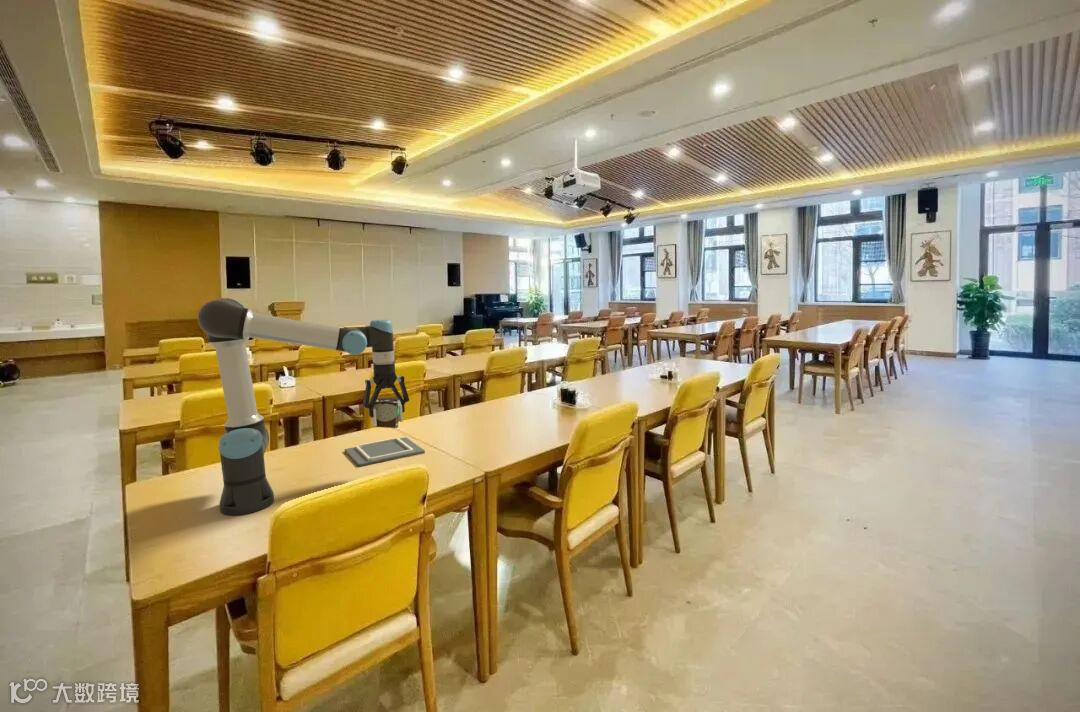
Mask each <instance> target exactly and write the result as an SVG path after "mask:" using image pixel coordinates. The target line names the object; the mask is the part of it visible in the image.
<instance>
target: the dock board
mask: <svg viewBox="0 0 1080 712" xmlns="http://www.w3.org/2000/svg"><path fill="white" fill-rule="evenodd" d="M425 451H426V450H424V449H423V448H422V447H421V446H419V445H417V444H416V443H414V442H413V441H412V440H410V439H409V438H407V437H406V436H405V437H401V438H399V437H392V438H387V439H383V440H381V439H380V440H376V441H373V442H372V441H371V442H367V443H362V444H357V445H355V446H353V447H349V448H344V453H346V454H347V455H348V457H349V458H350V459H351V460H352V461H353V462H354V463H355V464H356V465H357V466H358V468H360V467H365V466H371V465H374V464H379V463H384V461H385V462H388V461H394V460H398V458H399V459H403V457H404V458H407V457H412V456H417V455H422V454H425Z"/></svg>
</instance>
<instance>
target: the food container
mask: <svg viewBox="0 0 1080 712" xmlns="http://www.w3.org/2000/svg"><path fill="white" fill-rule="evenodd" d="M369 403H370V400H369ZM399 406H401V402H400V400H399V399H398V398H397V397H389V396H387V397H378V398H377V400H376V403H375V405H374V408H375V409H376V421H377V426H373V425H372V427H373V428H384V429H385V428H387V429H397V428H399V423H400V421H399Z"/></svg>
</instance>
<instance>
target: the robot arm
mask: <svg viewBox="0 0 1080 712" xmlns="http://www.w3.org/2000/svg"><path fill="white" fill-rule="evenodd" d="M197 313H198V314H197V323H198V326H199V327H200V329H201V330H202V331H203V332H204V333H205V334H206V336H207V341H208V344H209V345H212V346H213V347H214V350H215V353H216V359H217V360H216V361H217V364H218V370H219V376H220V381H221V386H222V391H223V397H224V402H225V406H226V410H227V411H226V412H227V416H228V417H227V420H226V422H225V423H224V424H223V425H224V430H225V433H224V434H223V435H221V436H220V438H219V440H218V442H219V443H218V444H219V445H218V451H219V455H220V464H221V465H220V466H221V472H222V473H221V474H222V480H223V488H222V492H221V496H220V500H219V511H220V513H221V514H223V515H225V516H240V515H247V514H252V513H255V512H259V511H261V510H263V509H266V508H267V507H269V506H271V505H272V504H273V503H274V502H275V500H274V499H275V492H274V491H273V489H272V486H271V484H270V482H269V481H268V479H267V474H266V464H265V454H266V451H267V448H268V446H269V443H270V434H269V430H268V429H267V427H266V423H265V417H264V416H263V415H261V414H259V412H258V407H257V403H256V396H255V390H254V384H253V378H252V374H251V368H250V364H249V358H248V357H249V356H248V350H247V347H246V343H247V342H248V341H249V339H250V338H253V339H258V340H265V341H272V342H278V343H279V342H280V343H284V344H285V343H287V344H291V345H299V346H306V347H311V348H319V349H325V350H332V351H338V352H345V353H348V354H350V355H354V356H355V355H359V354H361V353H363V352H364V351H365V350H366V348H372V349H371V350H372V351H371V352H372V354H371V355H372V363H373V366H372V368H373V377H372V378H371V379H365V380H364V383H365V391H364V395H363V396H364V397H363V403H362V406H363V407H364V408H365V409H368V416H369V417H370V418H371V419H372V420H371V423H372V427H373V426H377V421H376V409H375V408H374V405H375V403H376V400H377V398H379V395H380V393H381V391H382V390H385V389H391V390H392V392H393V394H394V396H395V398H398V399H399V400H400V402H401V406H399V423H403V422H404V417H403V416H404V415H403V414H404V413H405V404H406V403H408V402H410V398H409V394H408V392H407V388H406V383H405V376H404V375H402V374H401V375H396V365H395V364H396V363H395V349H394V347H395V346H394V331H393V322H392V321H391V320H389V319H373V320H370V322H369V325H367V326H349V327H348V326H347V327H346V326H344V327H343V326H342V327H338V326H331V325H328V324H327V325H326V324H320V323H314V322H309V321H302V320H297V319H290V318H284V317H279V316H273V315H268V314H262V313H256V312H254V311H252V310H251V309H250V308H246V307H244V305H243V304H242V303H241V302H239V301H237V300H235V299H233V298H227V297H226V298H225V297H223V298H222V297H221V298H217V299H213V300H209V301H207V302H205V304H203V305H202V306H201V307H200V309H199V310H198V312H197ZM396 380H397V382H398V384H399V387H400V390H401V394H402V395H401V394H400V392H399V390H398V388H397V387H396V385H395V382H396ZM373 383H374V384H375V388H374V391H373V392H371V391H372V390H371V389H372V386H373ZM371 393H373V394H372V395H371ZM370 397H371V398H370ZM369 401H370V403H369Z"/></svg>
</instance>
